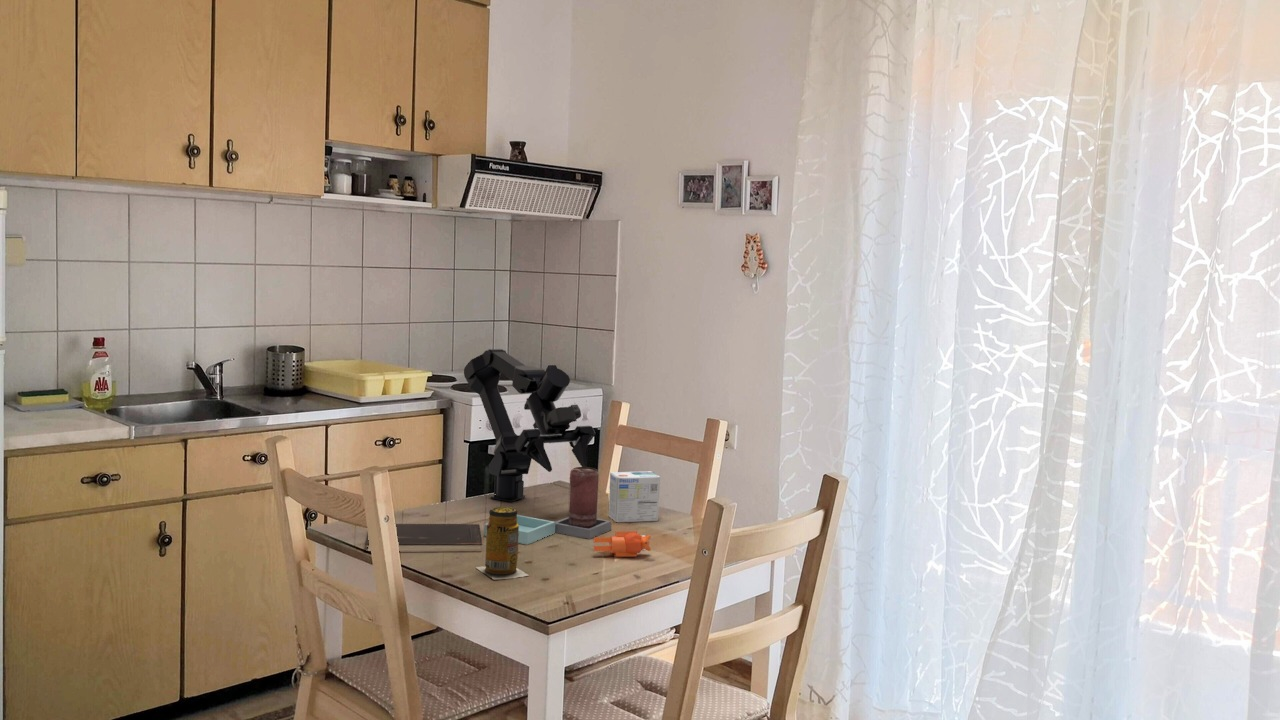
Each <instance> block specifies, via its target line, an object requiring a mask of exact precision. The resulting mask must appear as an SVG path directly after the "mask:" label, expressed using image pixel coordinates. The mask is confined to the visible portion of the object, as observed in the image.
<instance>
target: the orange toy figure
mask: <svg viewBox="0 0 1280 720" xmlns="http://www.w3.org/2000/svg"><path fill="white" fill-rule="evenodd" d="M614 533H615V535H613V536H610V537H605V536H604V537H600V536H596V537H593V543H594V544H595V543H596V544H597V543H600V544H601V543H605V544H606V543H609V545H593V549H592V551H593V552H609V553H610V554H614V557H616V558H617V557H618V558H619V557H622V558H625V557H627V558H628V557H630V558H631V557H637V556H638V554H640V553H641V552H645V551H649V552H651V551H652V550H651V549H652V548H651V547H650V539H651V535H650V534H648V535H645V534H639V533H638V531H637V530H636V531H634V530H633V531H627V530H626V531H621V530H620V531H615V532H614Z"/></svg>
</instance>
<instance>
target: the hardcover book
mask: <svg viewBox="0 0 1280 720" xmlns="http://www.w3.org/2000/svg"><path fill="white" fill-rule="evenodd" d="M395 524H396V527H397V536H398V542H399V547H400V552H399V553H405V552H406V553H407V552H408V553H415V552H416V553H417V552H419V553H421V552H424V553H425V552H427V553H428V552H431V553H432V552H433V553H434V552H436V553H437V552H440V553H441V552H444V553H445V552H481V551H482V546H483V539H482V531H481V526H480V523H395ZM364 546H366V548H367V547H368V549H369V540H368V534H367V535H366V540H365V544H364Z"/></svg>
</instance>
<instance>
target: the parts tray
mask: <svg viewBox="0 0 1280 720" xmlns="http://www.w3.org/2000/svg"><path fill="white" fill-rule="evenodd" d="M488 523H489V522H486V523H484V525H483V526H484V528H483V529H484V530H483V537H486V536H487V524H488ZM517 523H518V526H519V531H518V532H519V536H518V544H523V545H526V546H527V545H530V544H532V543H535V542H538V541H540V540H543V539H545V538H547V536H548V537H550V536H552V534H553V535H555V534H556V533H555V523H556V521H551V520H547V519H541V518H535V517H532V516H526V515H522V514H521V515H520V514H517ZM554 533H555V534H554ZM549 535H550V536H549ZM544 537H545V538H544ZM542 538H543V539H542ZM537 540H538V541H537Z"/></svg>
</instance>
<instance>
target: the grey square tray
mask: <svg viewBox="0 0 1280 720" xmlns="http://www.w3.org/2000/svg"><path fill="white" fill-rule="evenodd" d="M555 522H556V523H555V532H556V533H555V534H560V533H561V535H565V534H566V536H570V535H571V537H576V538H581V539H586V538H587V540H591V539H594V537H595V536H596V537H599V536H600V535H603V534H604V533H607V532H610V531H612V520H607V519H601V518H597V520H596V526H594V527H592V528H589V529H587V528H582V527H577V526H571V525H569V516H567V517H565V518H564V517H563V518H561V519H559V520H556V521H555ZM602 533H603V534H602Z"/></svg>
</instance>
